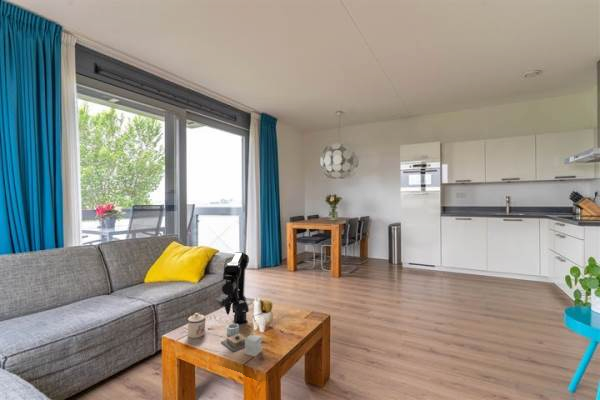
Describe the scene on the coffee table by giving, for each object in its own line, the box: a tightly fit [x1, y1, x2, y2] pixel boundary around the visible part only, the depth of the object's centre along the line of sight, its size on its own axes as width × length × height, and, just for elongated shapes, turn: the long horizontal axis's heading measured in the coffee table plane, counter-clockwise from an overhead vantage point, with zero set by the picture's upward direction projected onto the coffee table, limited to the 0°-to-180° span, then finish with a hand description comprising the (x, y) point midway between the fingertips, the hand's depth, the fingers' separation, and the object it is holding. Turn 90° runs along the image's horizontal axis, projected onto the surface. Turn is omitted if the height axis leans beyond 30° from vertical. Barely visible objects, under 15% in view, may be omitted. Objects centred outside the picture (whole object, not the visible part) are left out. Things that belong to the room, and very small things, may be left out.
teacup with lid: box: [187, 312, 206, 339], centre depth 161 cm, size 12×9×12 cm
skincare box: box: [244, 333, 263, 357], centre depth 141 cm, size 6×6×7 cm
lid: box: [226, 332, 247, 347], centre depth 150 cm, size 8×8×3 cm
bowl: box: [226, 323, 240, 337], centre depth 161 cm, size 6×6×4 cm
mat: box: [220, 333, 245, 352], centre depth 150 cm, size 12×12×1 cm
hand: (232, 317), depth 154 cm, fingers open, 9 cm apart
